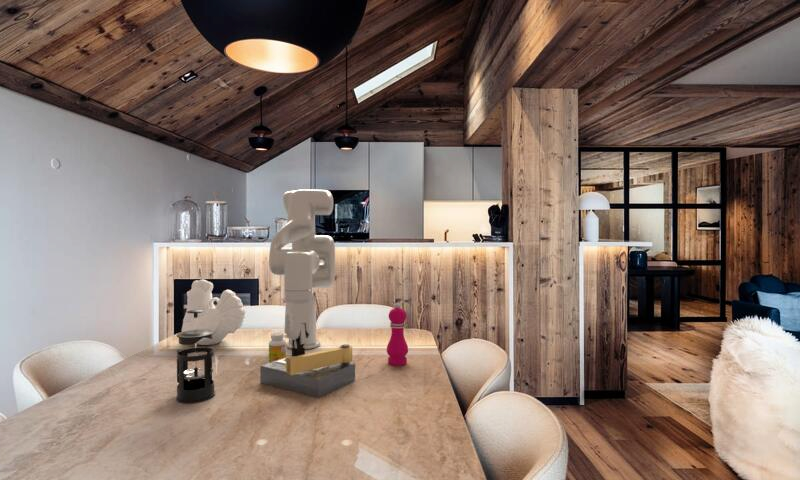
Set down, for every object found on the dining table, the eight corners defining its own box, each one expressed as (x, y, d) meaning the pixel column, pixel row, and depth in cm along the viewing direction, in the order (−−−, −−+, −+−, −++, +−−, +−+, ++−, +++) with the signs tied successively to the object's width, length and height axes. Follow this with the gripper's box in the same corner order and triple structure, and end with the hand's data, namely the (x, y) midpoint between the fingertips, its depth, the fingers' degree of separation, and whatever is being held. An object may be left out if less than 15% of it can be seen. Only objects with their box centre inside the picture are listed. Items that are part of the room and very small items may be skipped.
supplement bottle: (265, 364, 143) (265, 335, 142) (275, 360, 148) (275, 331, 147) (278, 366, 141) (278, 336, 140) (288, 361, 146) (288, 333, 145)
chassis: (260, 382, 125) (260, 364, 125) (299, 368, 139) (299, 351, 139) (318, 398, 114) (318, 377, 114) (355, 380, 128) (355, 362, 128)
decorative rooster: (172, 345, 166) (171, 280, 165) (206, 336, 180) (206, 276, 179) (220, 353, 155) (219, 284, 154) (252, 343, 169) (252, 280, 169)
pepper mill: (408, 360, 148) (409, 301, 148) (407, 366, 141) (407, 305, 141) (388, 359, 149) (388, 301, 148) (385, 365, 142) (385, 305, 141)
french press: (224, 393, 117) (224, 308, 116) (194, 406, 108) (194, 314, 108) (194, 386, 122) (194, 305, 121) (163, 398, 113) (163, 310, 113)
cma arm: (347, 360, 130) (347, 343, 130) (355, 363, 127) (355, 345, 127) (285, 374, 117) (285, 355, 117) (292, 378, 114) (292, 358, 114)
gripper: (278, 293, 125) (278, 356, 125) (292, 300, 112) (292, 371, 112) (303, 291, 128) (303, 353, 129) (320, 298, 115) (319, 367, 116)
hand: (298, 361), depth 120 cm, fingers closed
